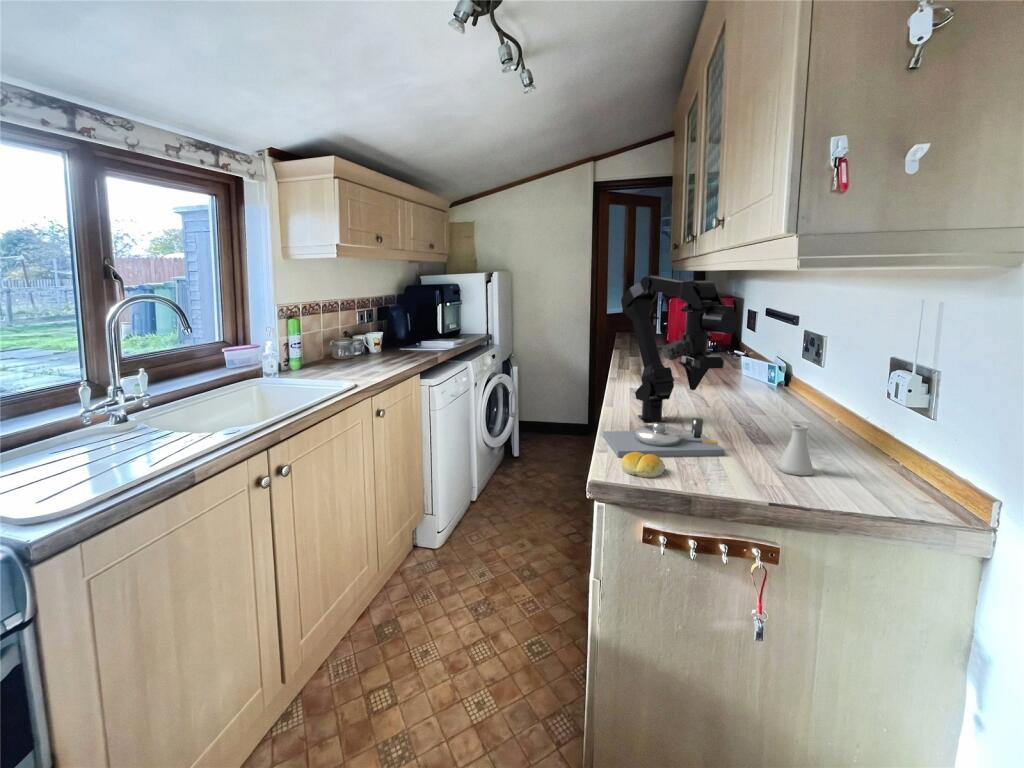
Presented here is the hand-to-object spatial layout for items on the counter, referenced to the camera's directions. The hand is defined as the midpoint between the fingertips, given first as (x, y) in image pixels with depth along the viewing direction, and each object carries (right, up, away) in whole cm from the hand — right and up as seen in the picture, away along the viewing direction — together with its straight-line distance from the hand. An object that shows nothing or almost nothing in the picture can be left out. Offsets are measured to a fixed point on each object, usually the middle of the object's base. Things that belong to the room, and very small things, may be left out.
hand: (692, 389), depth 134 cm
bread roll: (-19, -18, -24) cm, 36 cm away
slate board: (-11, -14, -8) cm, 19 cm away
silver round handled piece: (-9, -12, -9) cm, 17 cm away
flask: (+13, -17, -24) cm, 33 cm away
